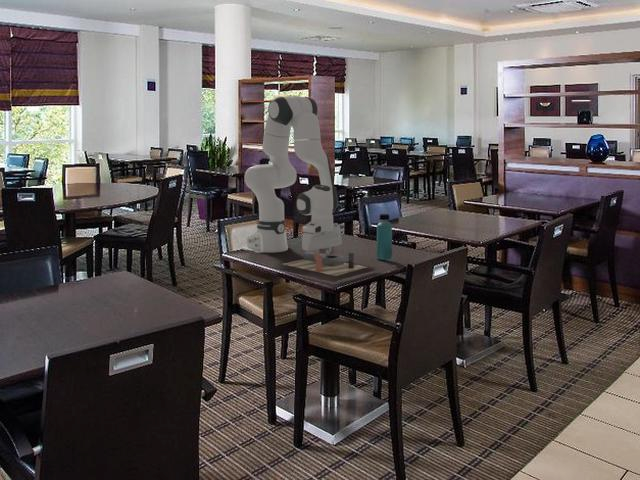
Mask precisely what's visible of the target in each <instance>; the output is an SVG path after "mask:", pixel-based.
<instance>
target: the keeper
mask: <svg viewBox="0 0 640 480" xmlns="http://www.w3.org/2000/svg"><path fill="white" fill-rule="evenodd" d="M314 258H315V260H316V271H322V256H321V255H320V254H314Z"/></svg>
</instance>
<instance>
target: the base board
mask: <svg viewBox="0 0 640 480" xmlns="http://www.w3.org/2000/svg"><path fill="white" fill-rule="evenodd" d="M283 265H284V266H289V267H293V268H297V269H302V270H307V271H311V272H316V273H322V274H325V275H329V276H334V277H338V276H341V275H345V274H348V273H352V272H356V271H360V270H363V269H367V268H368V266H363V265H359V264H354V268H353V269H350V268H349V262H344V264H342V265H338V266H334V267H331V266H326V265H322V271H316V262H313V261H308V260H304V258H303V259H297V260H294V261H289V262H286V263H283Z"/></svg>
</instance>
